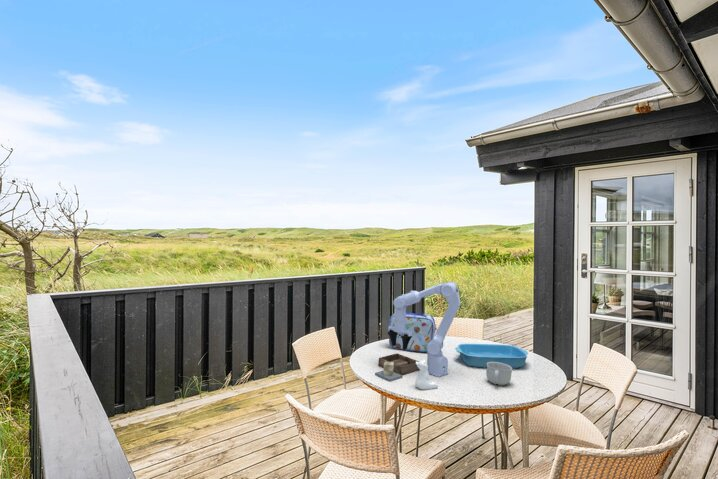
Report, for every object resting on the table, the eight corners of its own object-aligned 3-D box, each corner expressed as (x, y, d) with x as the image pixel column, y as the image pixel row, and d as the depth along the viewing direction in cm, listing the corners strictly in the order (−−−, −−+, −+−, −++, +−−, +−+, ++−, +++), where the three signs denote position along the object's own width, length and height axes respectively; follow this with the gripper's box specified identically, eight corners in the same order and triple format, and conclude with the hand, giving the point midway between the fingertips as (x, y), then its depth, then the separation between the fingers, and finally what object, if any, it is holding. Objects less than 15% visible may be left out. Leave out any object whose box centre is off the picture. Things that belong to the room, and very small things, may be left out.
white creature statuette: (439, 388, 160) (439, 360, 160) (427, 393, 154) (427, 364, 154) (421, 381, 167) (422, 354, 167) (409, 386, 161) (409, 358, 161)
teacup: (491, 376, 175) (491, 359, 175) (514, 382, 168) (515, 365, 168) (479, 385, 164) (480, 367, 164) (504, 392, 157) (505, 373, 157)
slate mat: (402, 377, 170) (402, 375, 170) (389, 381, 165) (389, 379, 165) (387, 371, 178) (387, 369, 178) (374, 374, 173) (374, 372, 173)
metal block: (393, 372, 173) (393, 362, 173) (392, 376, 169) (392, 365, 169) (385, 372, 174) (385, 361, 174) (383, 375, 170) (383, 364, 170)
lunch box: (437, 349, 215) (438, 311, 215) (435, 355, 205) (436, 315, 205) (390, 344, 223) (391, 308, 223) (387, 349, 213) (388, 311, 213)
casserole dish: (460, 369, 184) (461, 354, 184) (451, 355, 207) (451, 342, 207) (535, 371, 183) (536, 357, 183) (517, 357, 206) (518, 344, 206)
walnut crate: (420, 369, 181) (420, 361, 181) (401, 375, 173) (401, 367, 173) (396, 360, 193) (397, 353, 193) (378, 365, 185) (378, 357, 185)
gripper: (416, 322, 182) (415, 349, 183) (395, 316, 193) (394, 342, 194) (406, 324, 178) (405, 352, 178) (385, 318, 189) (384, 345, 189)
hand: (399, 347), depth 185 cm, fingers open, 7 cm apart
